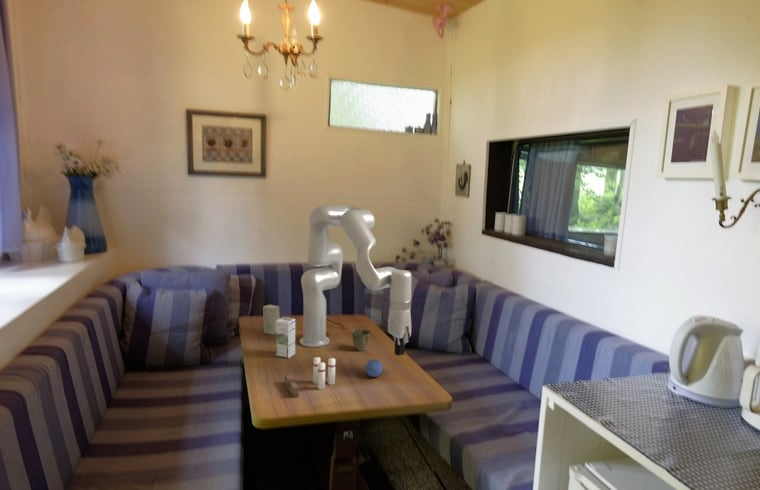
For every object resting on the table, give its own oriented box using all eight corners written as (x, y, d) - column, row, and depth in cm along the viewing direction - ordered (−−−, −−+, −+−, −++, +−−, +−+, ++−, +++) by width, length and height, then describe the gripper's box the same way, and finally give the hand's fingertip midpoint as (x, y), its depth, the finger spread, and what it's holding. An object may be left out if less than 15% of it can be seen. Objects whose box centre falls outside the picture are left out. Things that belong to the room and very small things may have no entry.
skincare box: (280, 332, 215) (280, 306, 213) (273, 335, 211) (273, 308, 209) (270, 330, 218) (270, 304, 216) (262, 332, 214) (262, 306, 212)
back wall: (284, 382, 163) (284, 374, 162) (288, 382, 163) (288, 373, 163) (293, 397, 152) (294, 388, 152) (298, 396, 153) (298, 387, 152)
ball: (362, 374, 172) (363, 358, 171) (377, 371, 175) (378, 356, 174) (369, 380, 167) (370, 364, 166) (385, 378, 169) (385, 361, 168)
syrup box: (295, 353, 190) (296, 318, 188) (288, 358, 184) (288, 322, 182) (283, 351, 192) (283, 316, 190) (275, 356, 186) (275, 320, 184)
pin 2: (316, 387, 160) (316, 362, 159) (323, 386, 161) (323, 361, 160) (318, 390, 158) (319, 365, 157) (326, 389, 159) (326, 364, 158)
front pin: (326, 382, 164) (327, 358, 163) (333, 381, 165) (334, 357, 164) (329, 385, 162) (329, 361, 161) (336, 383, 163) (336, 360, 162)
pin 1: (311, 381, 165) (312, 357, 163) (318, 380, 166) (319, 356, 165) (314, 384, 162) (314, 360, 161) (321, 383, 163) (321, 359, 162)
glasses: (323, 324, 230) (323, 314, 229) (346, 329, 223) (346, 319, 223) (306, 331, 218) (306, 321, 218) (329, 337, 212) (329, 326, 211)
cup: (367, 353, 192) (368, 334, 191) (349, 352, 193) (350, 332, 192) (371, 347, 199) (372, 329, 198) (354, 345, 201) (354, 327, 200)
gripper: (382, 301, 176) (381, 349, 178) (400, 310, 163) (399, 362, 165) (400, 299, 179) (399, 346, 182) (420, 308, 166) (418, 359, 168)
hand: (399, 354), depth 173 cm, fingers closed
